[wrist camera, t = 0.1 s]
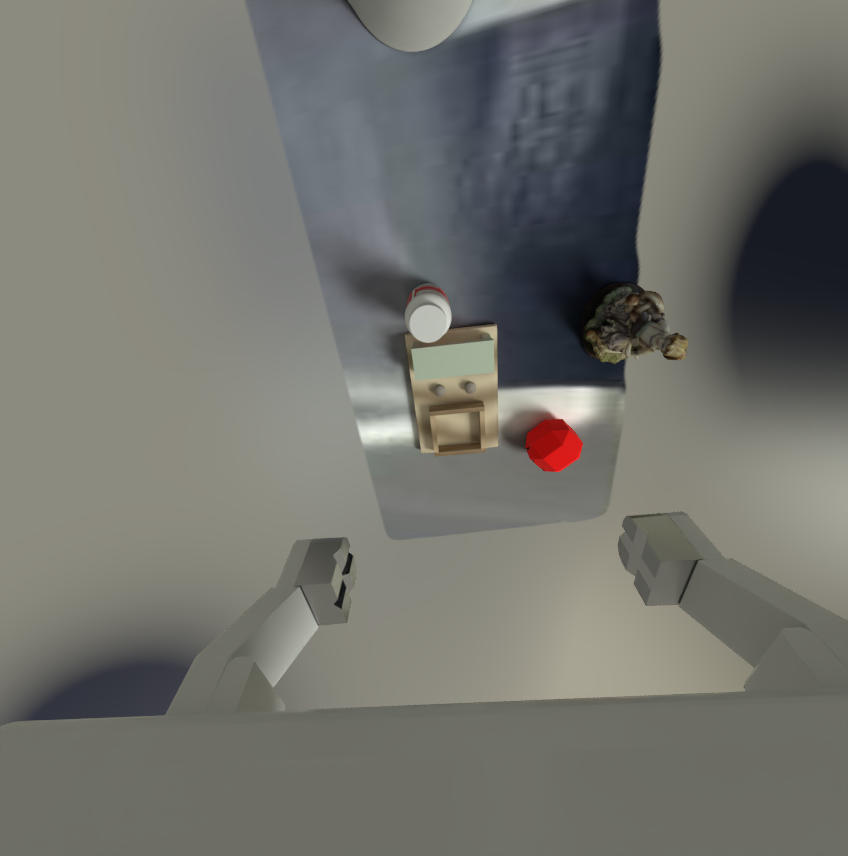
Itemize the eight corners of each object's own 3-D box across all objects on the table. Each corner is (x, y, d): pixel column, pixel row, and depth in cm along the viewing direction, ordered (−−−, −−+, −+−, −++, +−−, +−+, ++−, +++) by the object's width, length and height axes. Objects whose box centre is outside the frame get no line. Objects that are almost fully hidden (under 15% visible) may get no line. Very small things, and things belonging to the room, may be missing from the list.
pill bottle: (424, 333, 56) (423, 358, 46) (398, 301, 53) (392, 320, 44) (456, 307, 54) (463, 328, 44) (431, 273, 51) (432, 287, 42)
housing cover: (411, 341, 55) (411, 349, 52) (490, 333, 54) (493, 340, 51) (416, 372, 58) (415, 380, 55) (491, 364, 57) (494, 372, 54)
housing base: (405, 333, 56) (403, 340, 53) (495, 323, 55) (499, 329, 52) (421, 449, 67) (421, 459, 64) (496, 442, 66) (499, 452, 63)
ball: (515, 434, 65) (525, 459, 59) (551, 406, 62) (565, 429, 56) (542, 458, 68) (554, 485, 62) (578, 432, 65) (594, 457, 58)
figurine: (594, 277, 51) (650, 299, 39) (666, 287, 52) (744, 313, 39) (566, 355, 57) (606, 397, 45) (631, 364, 58) (688, 407, 45)
